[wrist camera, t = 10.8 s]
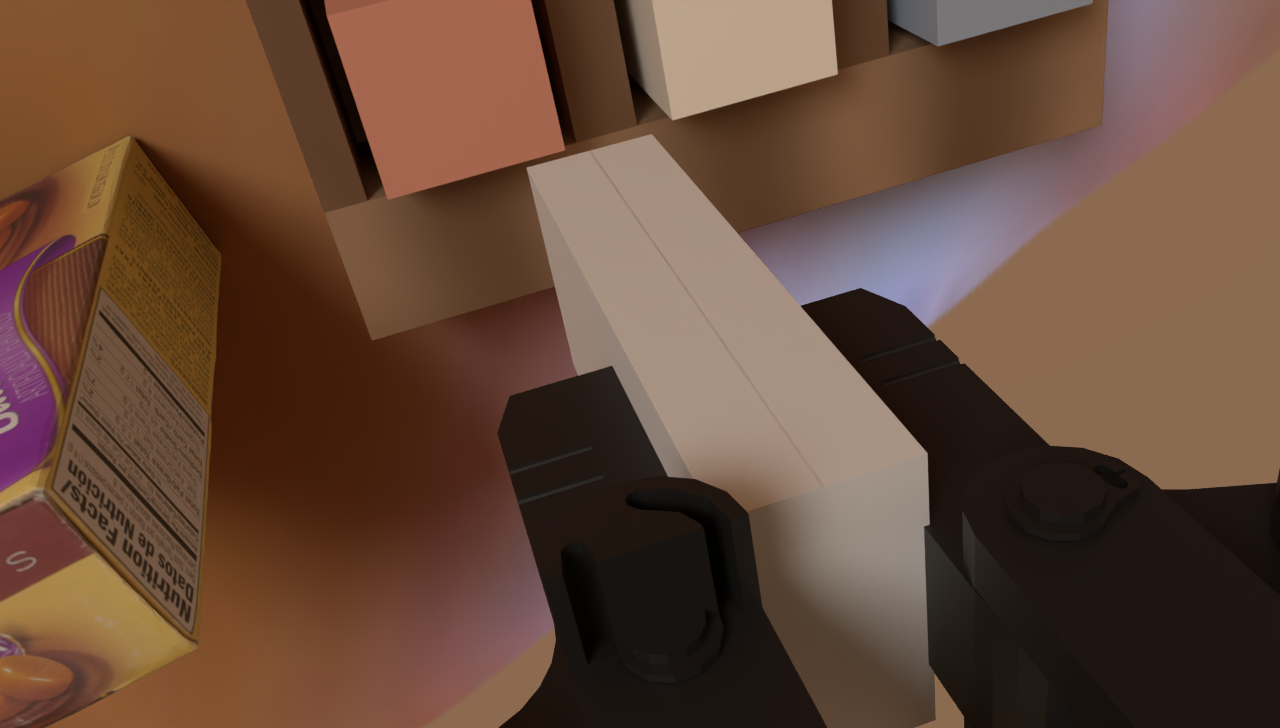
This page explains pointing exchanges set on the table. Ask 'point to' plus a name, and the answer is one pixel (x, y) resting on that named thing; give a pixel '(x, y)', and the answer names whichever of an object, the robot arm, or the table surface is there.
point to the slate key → (969, 16)
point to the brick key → (446, 86)
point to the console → (676, 139)
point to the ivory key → (724, 49)
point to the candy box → (101, 432)
